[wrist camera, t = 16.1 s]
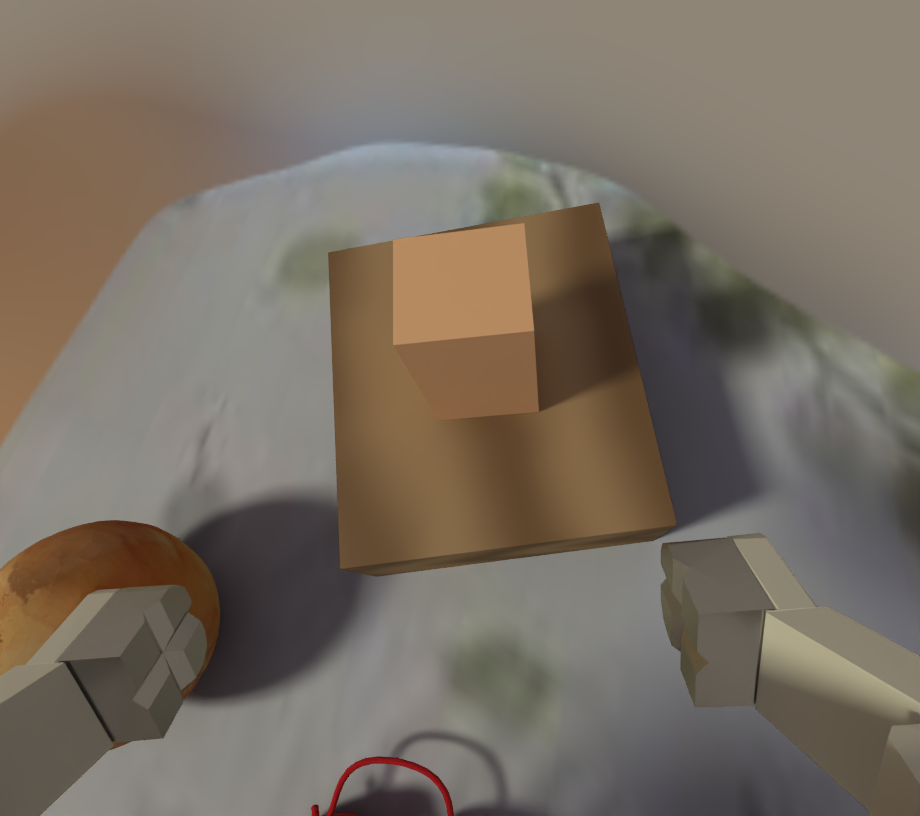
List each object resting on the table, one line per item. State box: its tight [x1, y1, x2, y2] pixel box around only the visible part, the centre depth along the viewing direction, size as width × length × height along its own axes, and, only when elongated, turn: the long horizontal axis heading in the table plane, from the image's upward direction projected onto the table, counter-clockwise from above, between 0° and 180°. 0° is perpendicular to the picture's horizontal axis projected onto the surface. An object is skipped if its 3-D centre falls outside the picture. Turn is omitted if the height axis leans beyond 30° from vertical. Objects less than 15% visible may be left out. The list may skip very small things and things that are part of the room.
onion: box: [0, 520, 220, 750], centre depth 25 cm, size 10×10×10 cm
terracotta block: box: [393, 223, 539, 420], centre depth 22 cm, size 4×4×8 cm
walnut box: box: [328, 203, 677, 576], centre depth 29 cm, size 14×16×6 cm
